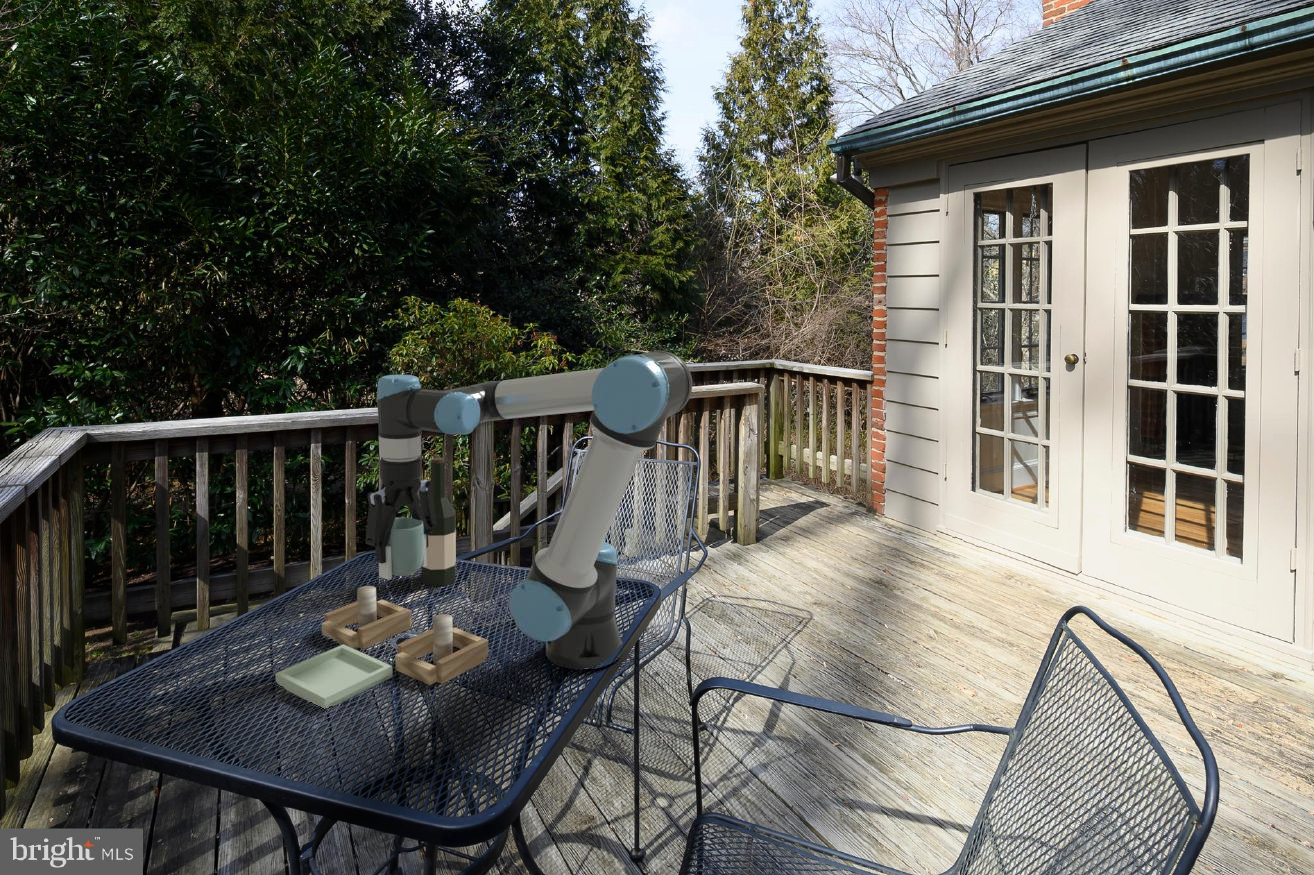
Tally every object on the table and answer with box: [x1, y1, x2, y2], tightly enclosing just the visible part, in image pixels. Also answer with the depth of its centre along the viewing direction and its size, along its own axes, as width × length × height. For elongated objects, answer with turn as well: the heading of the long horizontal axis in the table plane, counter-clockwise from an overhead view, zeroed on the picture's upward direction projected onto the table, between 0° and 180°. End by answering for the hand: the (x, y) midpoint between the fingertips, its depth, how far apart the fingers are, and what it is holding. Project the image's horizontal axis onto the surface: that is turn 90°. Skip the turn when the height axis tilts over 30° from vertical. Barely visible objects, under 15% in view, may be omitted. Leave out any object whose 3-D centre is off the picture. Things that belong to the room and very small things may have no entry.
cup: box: [381, 516, 424, 577], centre depth 154 cm, size 8×8×10 cm
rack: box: [321, 585, 489, 686], centre depth 157 cm, size 34×15×9 cm, turn 58°
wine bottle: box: [421, 457, 457, 587], centre depth 188 cm, size 8×8×30 cm
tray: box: [274, 644, 393, 710], centre depth 144 cm, size 14×14×2 cm
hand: (403, 570), depth 155 cm, fingers closed on cup, 8 cm apart
